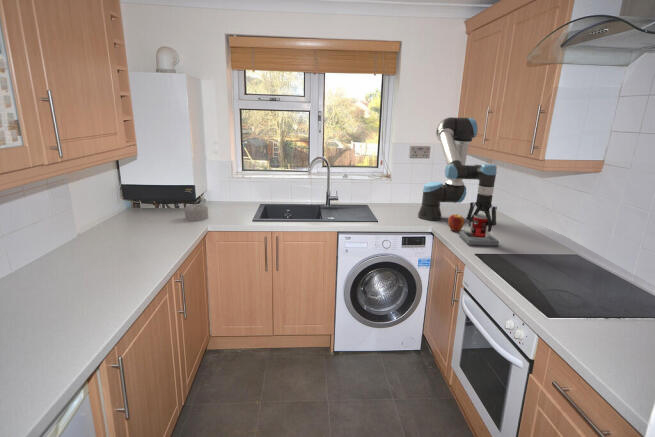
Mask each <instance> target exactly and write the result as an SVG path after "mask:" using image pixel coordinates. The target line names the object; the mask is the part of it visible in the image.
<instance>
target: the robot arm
mask: <svg viewBox="0 0 655 437" xmlns="http://www.w3.org/2000/svg"><path fill="white" fill-rule="evenodd" d="M478 128H479V127H478V123H477V120H476V119H475V118H473V117H447V118H444V119H442V120H441V121H440V122H439V123H438V125H437V128H436V132H435V134H436V138H437V140H438V141H439V142H440V146H441V149H442V151H443V155H444V157H445V158H444V159H445V162H446V166H445V169H444V176H445V178H446V180H445V184H443V182H441V181H430V182H426V183H425V184H424V185H423V189H422V197H421V198H422V200H421V206H420V208H419V211H418V213H417V217H418V218H419V219H422V220H427V221H441V220H442V217H443V216H442V211H441V203H444V204H445V203H452V204H457V203H459V204H460V203H462V202H463V201H464V200H465V198H466V196H467V186H466V185H465V182H464V181H463V180H478V187H477V188H478V189H477V195H476V201H475V202H474V201H472V202H469V209H468V213H467V215H466V220H468V221H469V224H468V226H469V227H470V228H469V232H470V233H471V232H472V225H473V218H474V215H477V214H480V213H479V212H483V213H484V215H486V218H487V222H488V225H487V227H486V234H485V237H486V238H487V237H489V234H490V232H491V231H492V229H493V226H494V227H495V226H496V225H497V209H498V206H494V205H493V204H492V202H493V194H494V190H495V189H494V188H495V183H496V176H497V173H498V172H497V170H498V166H497V165H496V164H491V163H483V164H482V165H481V164H474V165H467V164H466V162H467V156H468V149H469V145H470V144H471V142H473V139H474V138H477V135H478ZM475 206H476V209H475V211H474V208H475ZM490 209H491V211H490ZM490 212H491V213H490Z"/></svg>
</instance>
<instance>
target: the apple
mask: <svg viewBox="0 0 655 437" xmlns="http://www.w3.org/2000/svg"><path fill="white" fill-rule="evenodd" d="M447 224H448V227H449V228H450V230H452V231H454V232H460V231H462V229H463V227H464V226H465V218H464V217H463V215H459V214H458V213H457V214H454V213H453V214H451V215H449V217H448V220H447Z"/></svg>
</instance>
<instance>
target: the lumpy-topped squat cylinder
mask: <svg viewBox="0 0 655 437" xmlns="http://www.w3.org/2000/svg"><path fill="white" fill-rule="evenodd" d="M208 208H209V207H208V206H207V205H203V204H196V203H193V204H191V205H187V206H185V207H184V217H185V221H186V222H188V223H194V222H203V221H206V220H208V219H209V212H208V211H209V210H208Z"/></svg>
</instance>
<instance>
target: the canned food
mask: <svg viewBox="0 0 655 437" xmlns="http://www.w3.org/2000/svg"><path fill="white" fill-rule="evenodd" d="M487 225H488V222H487V218H486V214H483V213H481V214H480V213H478V214H477V215H474V218H473V225H472V232H471V233H472V235H473V236H475V237H481V238H483V237H485V234H486V227H487Z"/></svg>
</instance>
